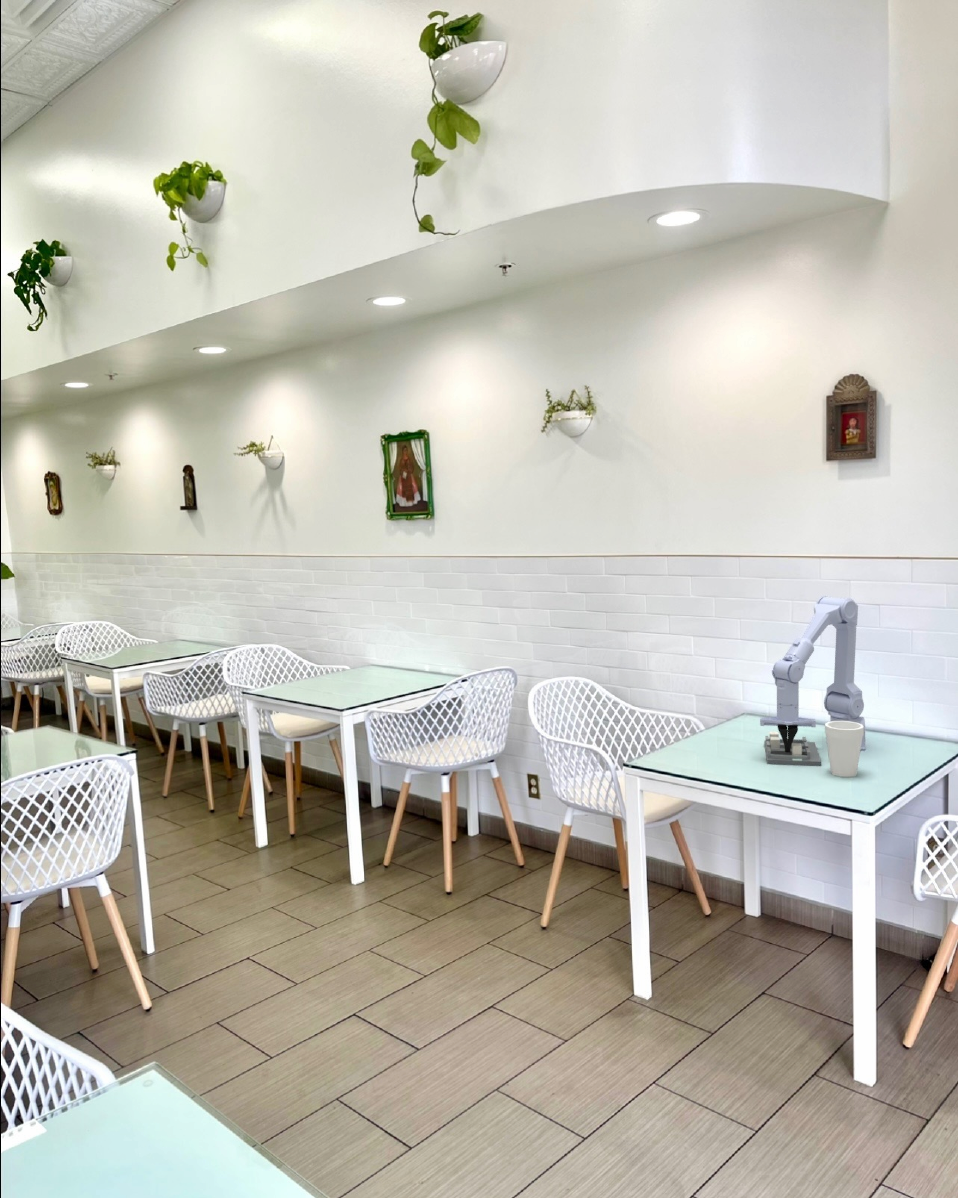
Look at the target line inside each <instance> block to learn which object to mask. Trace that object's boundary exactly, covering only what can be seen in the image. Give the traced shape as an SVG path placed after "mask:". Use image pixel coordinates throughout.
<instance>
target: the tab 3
mask: <svg viewBox="0 0 958 1198" xmlns="http://www.w3.org/2000/svg"><path fill="white" fill-rule="evenodd" d="M792 755H802V746H801V743H792Z"/></svg>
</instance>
